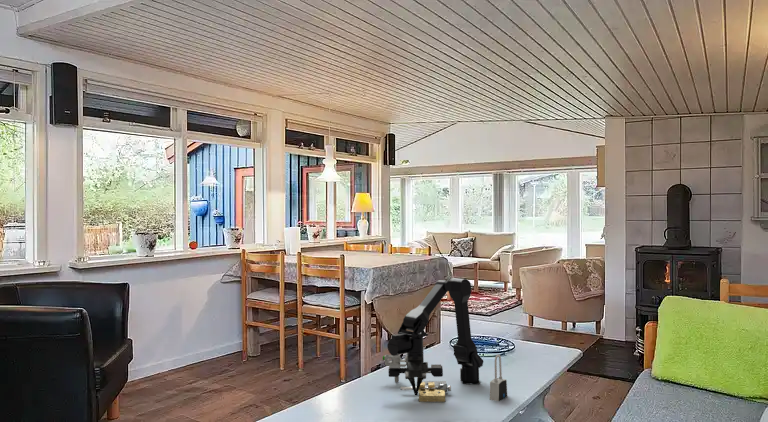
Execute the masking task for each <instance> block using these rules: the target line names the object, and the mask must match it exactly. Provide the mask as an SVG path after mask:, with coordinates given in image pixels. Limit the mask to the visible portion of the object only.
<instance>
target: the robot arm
mask: <svg viewBox="0 0 768 422" xmlns="http://www.w3.org/2000/svg"><path fill="white" fill-rule="evenodd" d="M447 293H449V296H450V298H451V299H452V301H453V304H454V311H455V312H454V313H455V314H454V315H455V321H456V322H455V323H456V332H457V341H456V344H453V346H452V348H453V356H454V357H455V359H456V361H457V365H461V368H459V374H460V375H459V378H460V381H461V383H462V384H463V385H465V384H466V385H467V384H468V385H470V384H471V385H472V384H473V385H475V384H476V385H477V384H478V385H479V384H481V381H480V368H481V367H483V365H484V360H483V358H482V357H481V356H480V355H479V354H478V353H479V352H478V347H477V345H476V344H475V342H474V341H473V339H472V332H471V331H472V330H471V323H470V322H471V321H470V313H469V303H468V302H469V300H470V297H471V295H472V284H471V281H470V280H468V279H466V278H460V277H452V278H450V279H449V280H447V279H446V280H445V279H443V280H442V279H439V280H436V282H435V284H434V286H433V287H432V288H431V290H430V291H429V292H428V294H426V296H425V297H424V299H423V300H421V302H420V304H419V305H418V306H417V307H414V308H413V309H411V310H409V312H408V313H407V314H405V316H404V317H403V320H402V323H401V325H400V327H399V329H398V331H397V334H391V335H390V337H391V338H389V340H388V341H387V350H388V353H389V355H393V356H395V355H400V356H401V355H402V354H406V356H407V365H406V367H400V365H390V366H388V377H389V378H395V377H398V376H400V374H404V379H405V380H408V381H409V383H410V385H411V387H412V388H413V390H412V391H413V393H414V396H415V397H416V396H419V388H420V385H421V382H422V381H424V380H426V379H427V374H431V376H433V377H435V378H438V377H439V378H440V377H443V376H444V371H443V365H442V364H431V365H430V367H429V362H428V361H425V360H424V337H428V333H427V332H426V331H425V329H426V327H427V325H428V323H429V321H430V316H431V314H432V313H433V311H434V310H435V308H437V306H438V304H440V302H441V300H443V298H444V297H445V295H447ZM415 378H416V379H415Z"/></svg>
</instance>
